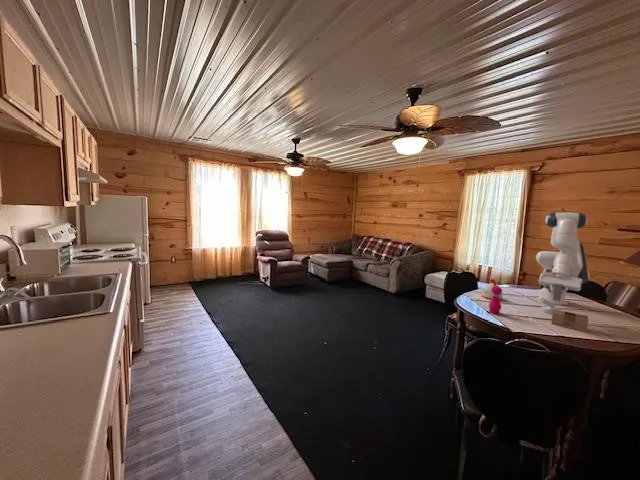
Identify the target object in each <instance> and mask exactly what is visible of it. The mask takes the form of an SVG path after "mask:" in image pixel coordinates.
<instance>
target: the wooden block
mask: <svg viewBox="0 0 640 480" xmlns="http://www.w3.org/2000/svg"><path fill="white" fill-rule="evenodd" d="M556 309H557V308H555V309H553V314H552V317H551V323H550V324H551V325H555V326H559V327H563V328H567V329H573V330H576V331H580V332H585V333H588V331H587V330H588V325H589V315H585V314H581V313H575V312H570V311H566V310H565V311H564V310H560V309H557V310H556Z"/></svg>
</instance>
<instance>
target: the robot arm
mask: <svg viewBox="0 0 640 480" xmlns="http://www.w3.org/2000/svg"><path fill="white" fill-rule="evenodd" d="M587 222H588V219H587V215H586V214H585V213H582V212H581V213H580V212H578V213H577V212H569V211H567V212H549V213H548V214H547V215H546V217H545V224H546V226H547V227H549V228H552V232H551V237H550V245H551V246H552V247H553V248H556V249H558V250H559V251H553V250H551V251H550V250H541V251H538V252H537V254H536V255H535V259H536V260H535V261H536V262H537V263H538V264H539V265H540V266H541V267H542V268H543V271H542V272H541V274H540V276H539V278H538V284H539V285H541V286H543V288H541V289H540V291H539V296H537V297H536V300H538V301H540V300H541V299H542V298H544V299H546V300H548V301H550V302H552V303H554V304H555V305H558V306H568V305H569V304H568V302H567V301H566V294H567V293H566V292H567V291H568V290H571V291H575V292H579V291H581V290H582V284H585V283H587V282H588V281H589V280H590V277H591V275H590V271H589V270H588V266H587V265H588V264H587V259H586V254H585V253H586V252H585V247H584V244H583V243H582V242H580V241H579V240H578V229H581V228H584V227H586V224H587ZM555 283H558V284H563V286H562V293H561V300H560V301H555V300H553V295H554V288H555Z"/></svg>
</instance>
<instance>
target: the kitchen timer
mask: <svg viewBox="0 0 640 480" xmlns="http://www.w3.org/2000/svg"><path fill="white" fill-rule="evenodd" d="M496 284H497V282H496V280H495V279H494V278H490V281H489V284H487V285H486V286H485V287H483V288H482V291H481V298H482V297H484V298H486V299H485V300H487V299H489V300H488V301H491V300H492V293H493V292H492V291H491V289H492V287H494V286H496ZM500 294H501V295H500V298H499V301H500V302H502V301H503V292H502V293H500ZM484 298H483V299H484Z"/></svg>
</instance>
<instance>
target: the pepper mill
mask: <svg viewBox="0 0 640 480" xmlns="http://www.w3.org/2000/svg"><path fill="white" fill-rule="evenodd" d="M495 284H496V286H494V287H492V289H491V291H492V292H493V293H492V300H490V301H489V304H488V308H489V309H488V313H489V312H490V313H489V314H491V313H493V314H492V315H495V314H499V315H500V314H501V309H502V304H501V301H499V298H500V295H501V294H500V293H502V294H503V289H502V287H500V286H499V284H497V283H495Z"/></svg>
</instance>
